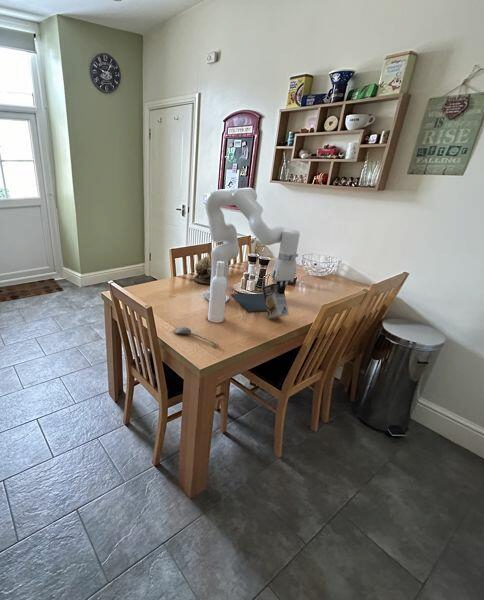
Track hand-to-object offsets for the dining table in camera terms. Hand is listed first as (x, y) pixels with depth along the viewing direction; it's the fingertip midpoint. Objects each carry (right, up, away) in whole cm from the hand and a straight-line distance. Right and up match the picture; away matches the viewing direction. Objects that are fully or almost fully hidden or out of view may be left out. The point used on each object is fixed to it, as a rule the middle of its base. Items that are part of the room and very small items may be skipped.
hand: (280, 293), depth 159 cm
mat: (-4, -4, +26) cm, 27 cm away
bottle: (-31, -13, +6) cm, 34 cm away
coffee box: (0, -12, +3) cm, 12 cm away
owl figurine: (-29, +9, +56) cm, 64 cm away
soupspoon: (-43, -21, -12) cm, 49 cm away
